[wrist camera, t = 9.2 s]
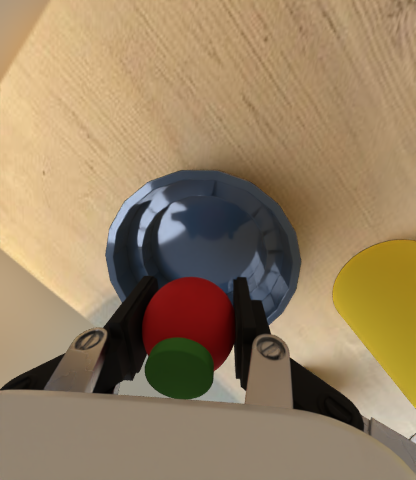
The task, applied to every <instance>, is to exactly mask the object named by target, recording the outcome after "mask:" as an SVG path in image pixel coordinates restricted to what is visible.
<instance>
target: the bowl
mask: <svg viewBox="0 0 416 480" xmlns="http://www.w3.org/2000/svg"><path fill="white" fill-rule="evenodd" d="M105 256H106V261H107V267H108V272H109V277H110V281H111V283H112V285H113V287H114V289H115V291H116V293H117V294H118V296H119V298H120V300H121V302H122V303H123V302H124V300H125V299H126V298H127V297H128V296H129V294H130V293H131V292H132V291H133V289H134V288H135V287H136V285H137V284H138V283H139V282H140V280H141V279H142V278H143V276H154V277H155V278H157V280H158V287H159V290H160V289H161V288H162V287H163V286H164V285H166V284H168V283H169V282H171V281H173V280H176V279H179V278H183V277H199V278H203V279H206V280H209V281H211V282H213V283H214V284H216V285H217V286H218V287H220V288H221V289H222V290H223V291H224V292H225V294H226V295H227V296H228V298H229V299H230V301H231V303H232V305H233V279H237V277H246V278H247V283H248V288H249V293H250V298H251V300H261V301H262V304H263V307H264V311H265V314H266V318H267V322H268V325H270V324H271V323H272V322H273V321H274V320H275V319H277V318H278V317H279V316H280V315H281V314H282V313H283V312H284V310H285V308H286V307H287V305H288V303H289V301H290V300H291V298H292V296H293V295H294V293H295V291H296V289H297V283H298V278H299V272H300V267H301V257H300V251H299V246H298V241H297V235H296V232H295V230H294V228H293V227H292V225H291V223H290V222H289V220H288V218H287V217H286V215H285V213H284V212H283V210H282V209H281V207H280V205H278V203H277V202H276V201H274V200H273V199H272V198H271V197H269V196H268V195H267V194H266V193H264V192H263V191H262V190H261V189H259V188H258V187H257V186H256V185H254V184H253V183H251V182H250V181H247V180H245V179H243V178H240V177H237V176H234V175H231V174H228V173H226V172H223V171H220V170H180V171H177V172H174V173H171V174H168V175H166V176H163V177H160V178H157V179H154V180H151V181H149V182H147V183H146V184H145V185H144V186H142V187H141V188H140V189H139V190H138V191H136V192H135V193H134V194H133V195H132V196H130V197H129V198H128V199H127V200H126V201H124V203H123V205H122V206H121V208H120V210H119V212H118V213H117V215H116V217H115V219H114V221H113V222H112V224H111V226H110V228H109V234H108V241H107V247H106V253H105Z"/></svg>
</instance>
